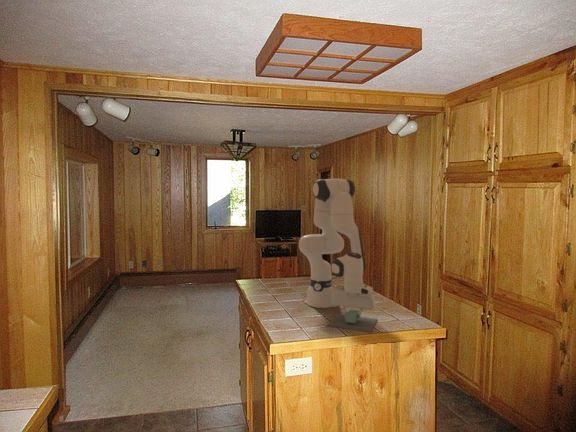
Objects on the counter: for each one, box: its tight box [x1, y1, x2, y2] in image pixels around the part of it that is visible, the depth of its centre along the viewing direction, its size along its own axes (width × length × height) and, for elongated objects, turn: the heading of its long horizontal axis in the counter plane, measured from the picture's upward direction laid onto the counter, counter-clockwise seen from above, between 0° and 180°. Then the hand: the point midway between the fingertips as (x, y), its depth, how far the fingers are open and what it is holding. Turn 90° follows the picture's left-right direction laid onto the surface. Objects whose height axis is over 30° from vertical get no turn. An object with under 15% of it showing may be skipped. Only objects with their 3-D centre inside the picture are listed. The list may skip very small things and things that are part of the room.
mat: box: [326, 313, 378, 333], centre depth 181 cm, size 18×20×1 cm
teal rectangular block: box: [345, 308, 360, 323], centre depth 181 cm, size 4×9×4 cm, turn 156°
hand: (352, 316), depth 181 cm, fingers closed on teal rectangular block, 5 cm apart
